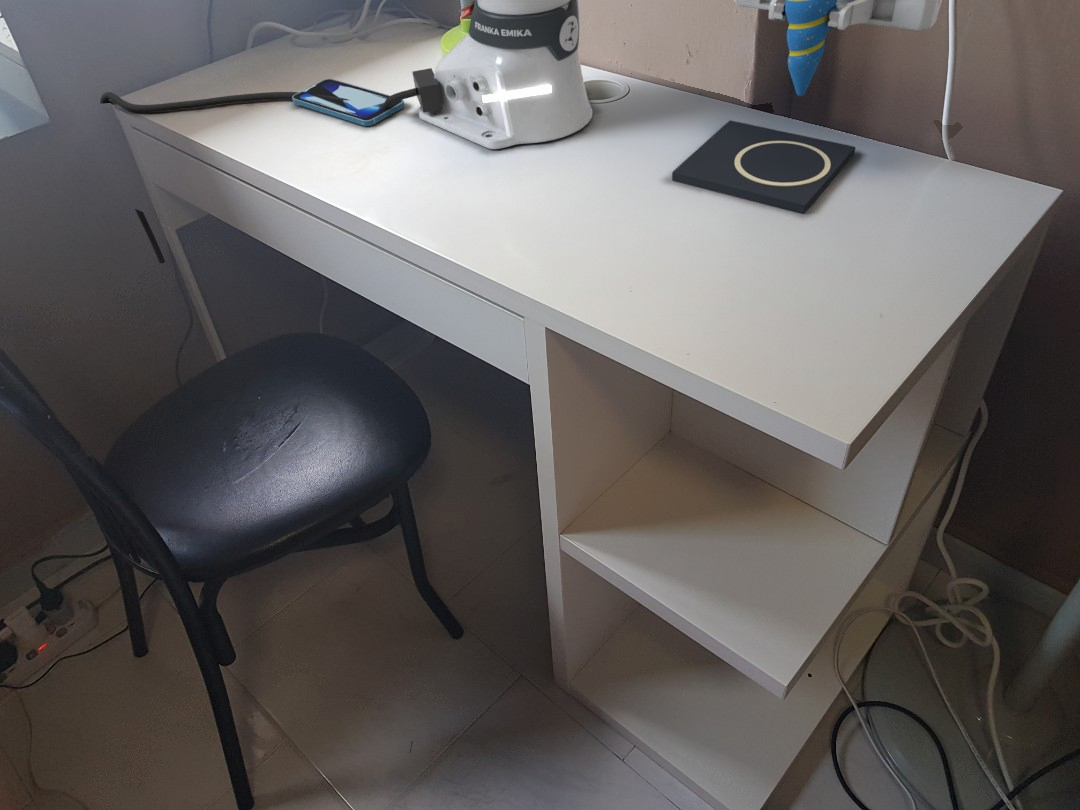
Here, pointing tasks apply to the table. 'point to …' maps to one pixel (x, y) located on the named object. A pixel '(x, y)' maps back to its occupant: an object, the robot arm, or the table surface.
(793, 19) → the ornament
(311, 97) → the smartphone
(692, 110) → the table surface
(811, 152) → the mat
